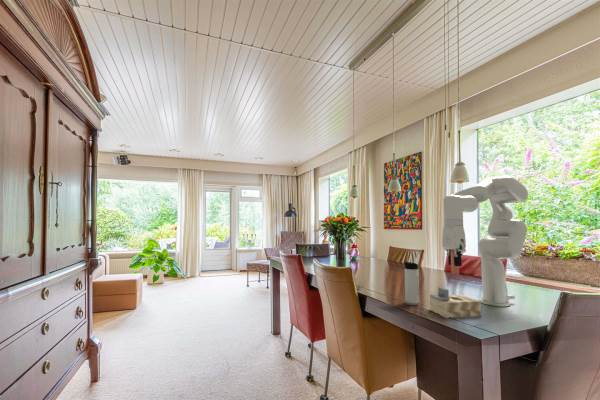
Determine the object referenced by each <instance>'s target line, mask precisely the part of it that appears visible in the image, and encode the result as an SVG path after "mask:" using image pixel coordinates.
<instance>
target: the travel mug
mask: <svg viewBox="0 0 600 400" xmlns="http://www.w3.org/2000/svg"><path fill="white" fill-rule="evenodd" d="M403 264H404V293H405V294H404V295H405V297H404V298H405V304H406V305H409V306H418V305H420V287H419V285H420V282H419V280H420V279H419V263H416V262H412V261H403Z"/></svg>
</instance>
